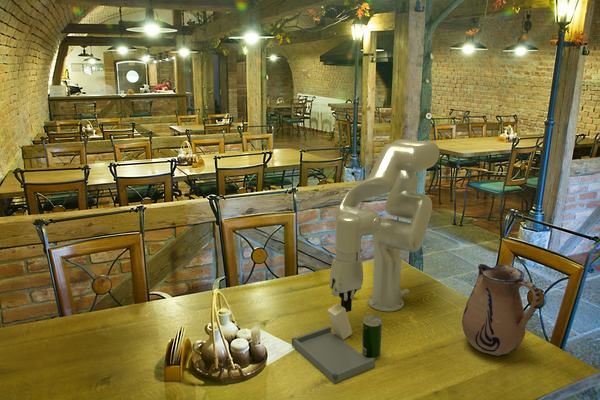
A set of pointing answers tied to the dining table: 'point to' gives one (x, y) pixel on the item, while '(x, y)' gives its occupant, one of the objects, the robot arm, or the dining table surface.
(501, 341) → the ceramic pitcher
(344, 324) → the block
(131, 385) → the dining table surface
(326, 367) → the slate tray
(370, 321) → the beer can
